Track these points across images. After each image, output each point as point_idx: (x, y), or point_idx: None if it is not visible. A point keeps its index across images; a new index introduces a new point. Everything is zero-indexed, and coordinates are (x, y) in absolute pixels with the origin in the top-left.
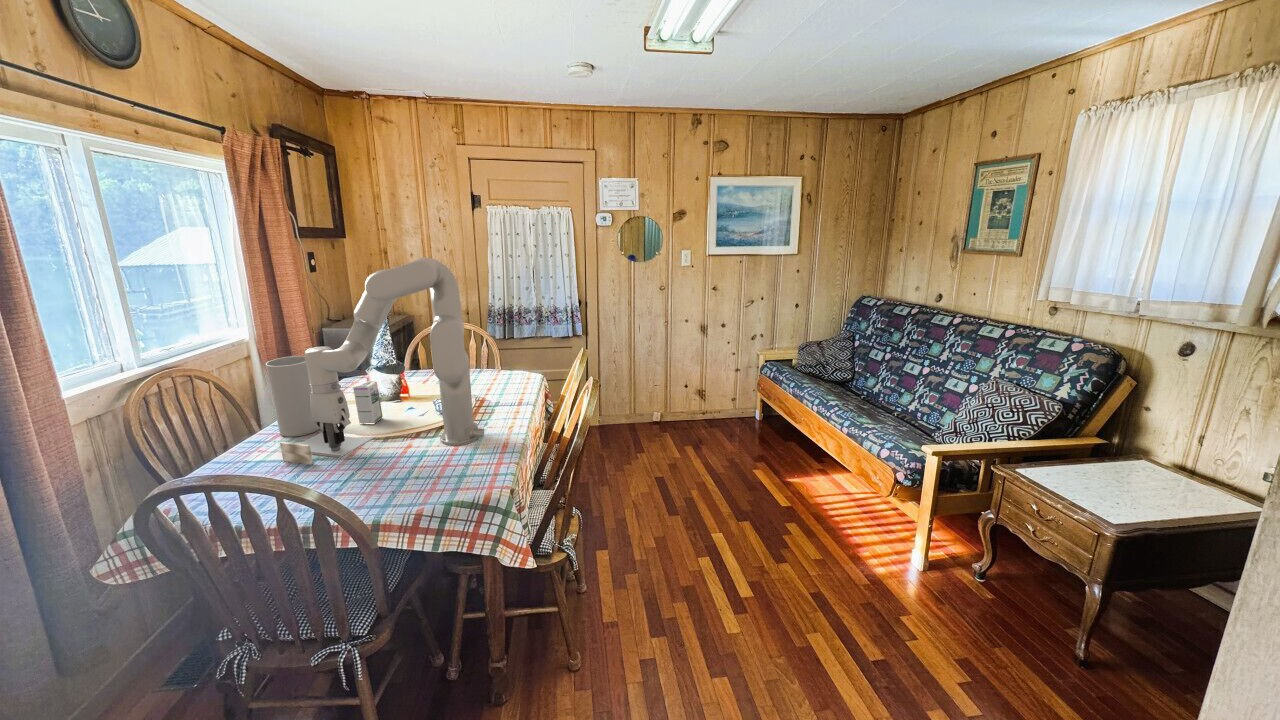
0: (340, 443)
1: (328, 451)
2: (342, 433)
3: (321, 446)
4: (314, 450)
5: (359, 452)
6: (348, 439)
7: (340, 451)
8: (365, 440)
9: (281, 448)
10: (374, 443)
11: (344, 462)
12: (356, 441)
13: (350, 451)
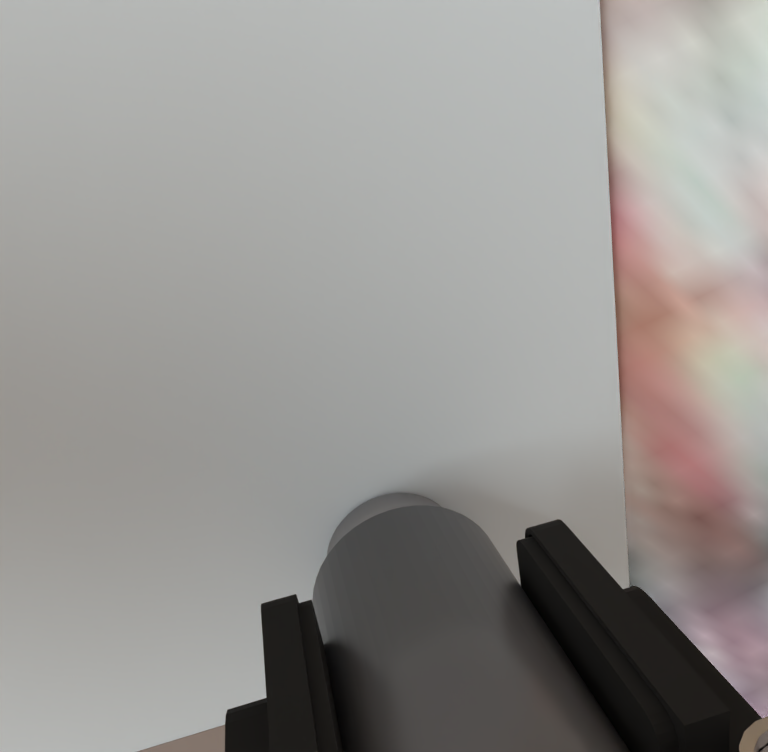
0: (506, 564)
1: None
2: (730, 705)
3: (34, 598)
4: (98, 719)
5: (747, 410)
6: (186, 175)
7: (505, 544)
8: (552, 63)
9: None
10: (752, 68)
11: (761, 650)
12: (429, 177)
13: (618, 459)
